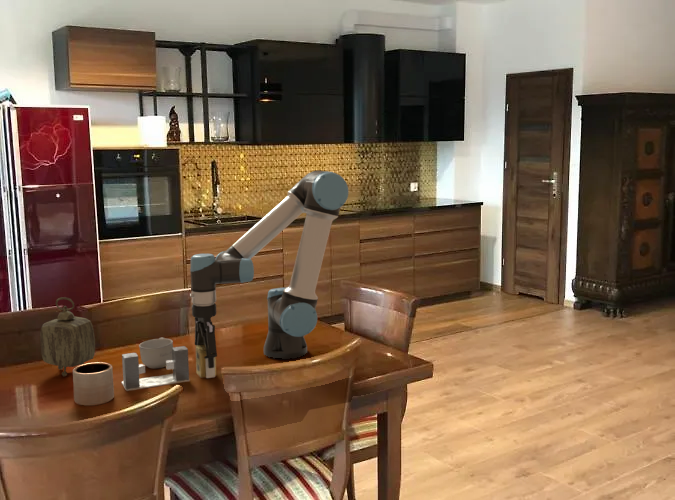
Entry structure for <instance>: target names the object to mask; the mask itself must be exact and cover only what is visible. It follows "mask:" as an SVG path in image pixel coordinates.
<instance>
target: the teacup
mask: <svg viewBox="0 0 675 500" xmlns="http://www.w3.org/2000/svg"><path fill="white" fill-rule="evenodd" d="M138 347H139V352H140V354H139V355H140V360H141V362H142V363H141V364H143V365H145V367H147V368H149V369H162V368H164V367H165V368H166V360H172V348H173V347H174V341H173V340H172V339H170V338H165V337H159V338H153V339H148V340H145V341H143V342H141V343H140V344H138Z"/></svg>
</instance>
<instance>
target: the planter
mask: <svg viewBox="0 0 675 500" xmlns="http://www.w3.org/2000/svg"><path fill="white" fill-rule="evenodd" d="M72 382H73V400H74V402H75V404H77V405H79V406H82V405H84V407H94V406H95V405H96V406H100V405H104V404H107V403H109V402H110V401H112V400H113V398H114V397H115V389H114V388H115V386H114V374H113V365H112V364H110V363H109V362H102V361H99V362H98V361H97V362H88V363H86V362H85V363H84V364H82V365H78V366H75V367H73V369H72ZM96 406H95V407H96Z"/></svg>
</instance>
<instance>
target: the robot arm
mask: <svg viewBox="0 0 675 500" xmlns="http://www.w3.org/2000/svg"><path fill="white" fill-rule="evenodd" d="M347 183H348V182H347V181H346V180H345V179H344V178H343V176H341V175H340V174H338V173H336V172H333V171H330V170H320V169H319V170H318V169H317V170H313V171H311V172H308V173H306V174H305V175H304V176H303V177H302V178H301V179H300V180H299V181H297V182H296V184H295V185H293V186H292V188H290V190H288V191H287V195H286V197H284V199H283V200H282V201H281V200H280V202H279V203H278V204H277V205H276V206H275V207H274V208H272V209H271V210H270V211H269V212H268V213H267V214H266V215H264V216H263V217H262V218H261V219H260V220H259V221H257V223H255V224H254V225H253V226H252V227H251V228H250V229H248V231H247V232H245V233H244V234H243V235H242V236H241V237H240V238H239V239H238V240H236V242H234V243H233V244H232V245H231V246H230V247H228V248H227V249H226V250H224V251H221V252H219V253H218V254H217V255H216V256H215V255H214V254H213V253H195V254H193V255H192V256H191V257H190V268H189V271H190V287H191V288H190V290H191V293H190V294H189V297H190V298H191V303H192V305H191V315H192V317H194V345H195V347H196V346H198V345H205V350H206V356H205V357H204V358H205V360H206V377H205V378H206V379H211V378H215V377H216V375H215V357H216V358H217V357H218V354H217V353H218V352H217V344H216V343H217V342H216V332H215V331H216V330H215V329H216V326H215V324H213V321H212V319H211V318H213V317H215V316H216V315H217V304H216V302H217V288H216V286H217V285H220V284H221V285H222V284H237V283H239V284H240V283H241V284H243V283H249V282H252V281H253V280H254V277H255V276H254V275H255V269H254V268H255V267H254V263H253V260H252V258H254V257H255V256H256V255H257V254H258V253H259V252H261V250H262V249H264V248H265V247H266V246H267V245H268V244H269V243H270V242H271V241H273V240H274V239H276V237H277V236H278V235H280V234H281V233H282V232H283V231H284V230H285V229H286V228H287V227H289V225H290V224H292V223H293V221H295V220H296V219H298V218H299V217H300V216H301V215H302V214H306V216H305V220H304V223H303V227H302V233H301V236H300V240H299V244H298V245H299V246H298V247H297V248H298V249H297V252H296V257H295V259H294V260H295V261H294V265H293V269H292V274H291V278H290V281H289V285H288V286H287V287H277V288H271V289H269V290H268V292H267V297H266V299H267V323H268V324H267V325H268V326H267V327H268V329H267V330H268V332H267V335H266V339H265V340H264V341H265V342H264V345H263V355H264V356H265V355H266V356H265V357H267V356H268V357H267V358H270V357H273V358H272V359H275V358H282V359H281V360H289V359H290V358H292V359H298V358H301V357H300V356H302V357H304V356H306V355H307V354H308V345H307V342H306V338H305V336H307V335H309V334H311V332H312V331H313V330H314V329H315V328H316V326H317V323H318V313H317V311H316V308H317V304H318V301H319V300H318V299H319V297H318V295H317V293H316V289H317V285H318V281H319V278H320V277H319V276H320V272H321V269H322V264H323V260H324V257H325V256H324V255H325V252H326V248H327V245H328V241H329V235H330V232H331V228H332V224H333V221H334V220H336V219H337V218H339V214H340V211H341V208H342V207H343V206H344V205H345V204H346V202H347V200H348V197H349V186H348V184H347ZM211 353H212V354H211ZM306 353H307V354H306ZM305 354H306V355H305ZM303 355H304V356H303ZM297 357H298V358H297ZM290 360H291V359H290Z"/></svg>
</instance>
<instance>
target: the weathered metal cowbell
mask: <svg viewBox="0 0 675 500" xmlns="http://www.w3.org/2000/svg"><path fill="white" fill-rule="evenodd" d="M60 300H66V301H68V302H70V303H71V304H72V307H70V308H68V307H67V306H66V305H64V306H63V307H60V306H59V305H58V302H59V301H60ZM55 307H57V309H59V310H61V312H59V313H58V315H57V318H55V319H52V320H49V321H46V322H44V323H43V324H42V326H41V327H40V334H39V336H40V337H39V339H40V340H39V342H40V344H39V345H40V351H41V357H42V360H43V362H44V363H46V364H48V365H52V366H57V369H58V370H59V371H61V370H63V371H62V372H61V375H62V377H67V375H68V372H67V368H75V367H77V366H79V365H82V364H85V363H86V362H89V361H90V360H93V359H94V357H95V353H96V352H95V351H96V338H95V332H94V331H95V328H94V325H93V323H92V322H91V320H89V319H88V318H85V317H81V316H75V315H74V313H73V312H71V311H72V310H73V309H74V307H75V302H74V301H73V300H72V298H69V297H66V296H64V297H62V296H61V297H59V298H57V299H56V300H55Z"/></svg>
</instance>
